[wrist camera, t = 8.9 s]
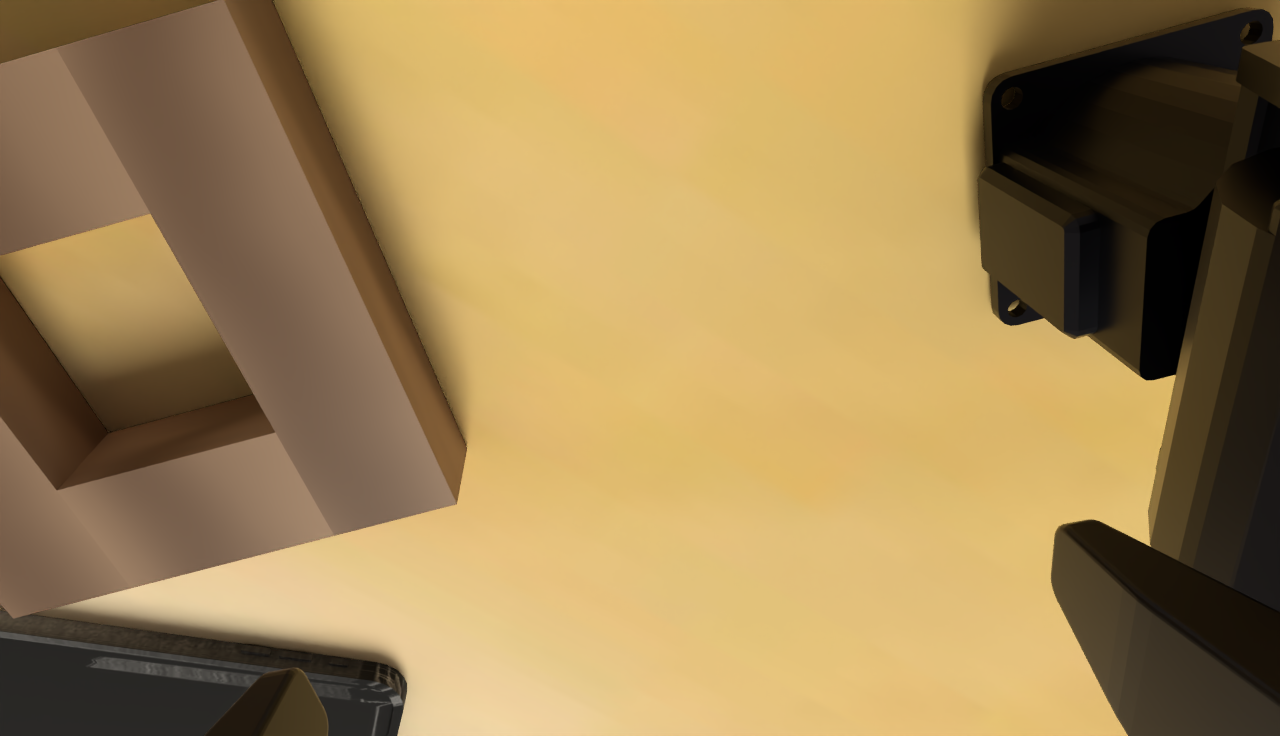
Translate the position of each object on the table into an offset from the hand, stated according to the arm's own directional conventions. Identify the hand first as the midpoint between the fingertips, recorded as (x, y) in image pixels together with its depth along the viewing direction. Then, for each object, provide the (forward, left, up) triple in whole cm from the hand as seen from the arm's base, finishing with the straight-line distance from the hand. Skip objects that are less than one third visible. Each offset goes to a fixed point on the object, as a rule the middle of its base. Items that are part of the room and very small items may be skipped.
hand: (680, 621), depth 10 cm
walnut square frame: (+12, -2, -12) cm, 17 cm away
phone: (+19, +11, -13) cm, 25 cm away
